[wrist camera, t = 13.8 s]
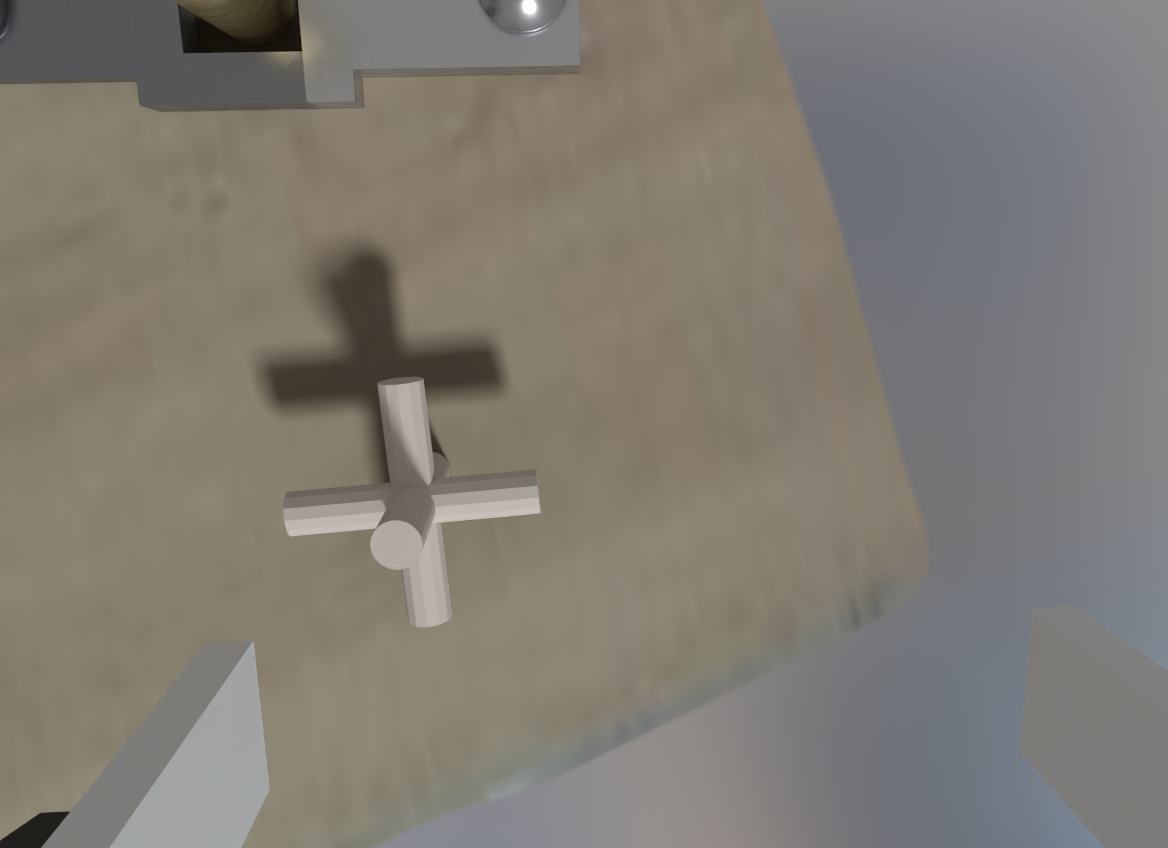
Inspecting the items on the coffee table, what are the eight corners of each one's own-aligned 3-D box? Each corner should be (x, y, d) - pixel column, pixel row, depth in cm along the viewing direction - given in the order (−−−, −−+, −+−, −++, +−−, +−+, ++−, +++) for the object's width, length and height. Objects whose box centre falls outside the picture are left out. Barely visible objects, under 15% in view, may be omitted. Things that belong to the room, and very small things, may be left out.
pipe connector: (304, 372, 41) (229, 418, 31) (528, 352, 41) (524, 392, 31) (335, 583, 43) (275, 689, 33) (548, 563, 43) (551, 662, 33)
